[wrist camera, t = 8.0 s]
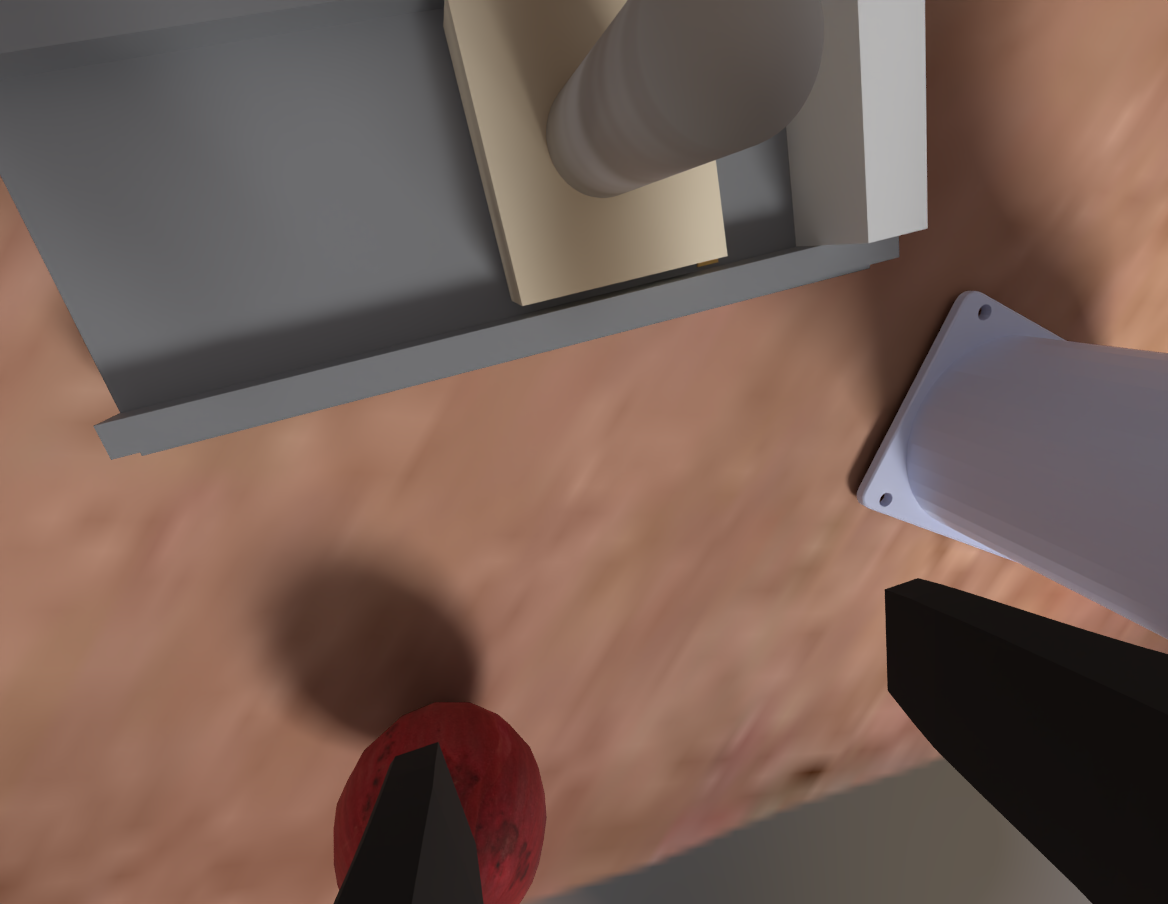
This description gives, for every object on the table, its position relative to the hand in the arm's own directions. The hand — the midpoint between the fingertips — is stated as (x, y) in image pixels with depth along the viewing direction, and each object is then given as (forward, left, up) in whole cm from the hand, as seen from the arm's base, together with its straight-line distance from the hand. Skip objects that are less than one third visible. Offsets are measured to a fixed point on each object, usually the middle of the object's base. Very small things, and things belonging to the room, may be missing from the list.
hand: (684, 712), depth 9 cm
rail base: (+5, -7, -10) cm, 14 cm away
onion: (0, +9, -11) cm, 14 cm away
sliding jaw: (+3, -9, -9) cm, 13 cm away
